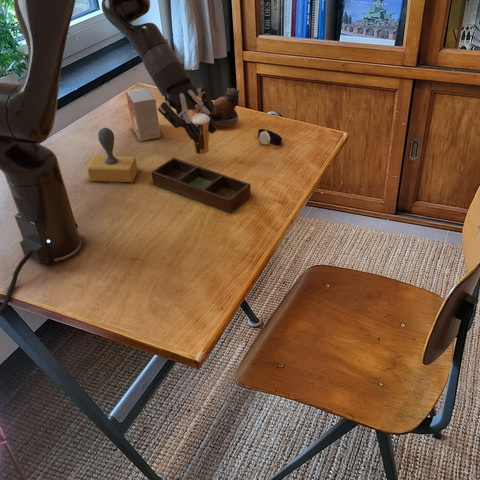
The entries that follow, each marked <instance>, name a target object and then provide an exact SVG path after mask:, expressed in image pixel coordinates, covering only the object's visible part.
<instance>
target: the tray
mask: <svg viewBox="0 0 480 480" xmlns="http://www.w3.org/2000/svg"><path fill="white" fill-rule="evenodd" d="M150 172H151V178H152V184H153V185H156V186H157V187H160V188H163V189H165V190H168V191H171V192H174V193H177V194H179V195H182V196H184V197H187V198H190V199H192V200H195V201H197V202H200V203H203V204H205V205H208V206H211V207H214V208H216V209H219V210H222V211H224V212H227V213H230V214H231V213H233V212H234V211H235V210H236V209H237V208H239V207H240V206H241V205H242V204H243V203H245V202H246V201H247V200H249V198H251V197H252V190H251V189H252V188H251V183H249V182H245V181H243V180H240V179H237V178H234V177H231V176H228V175H225V174H222V173H219V172H217V171H214V170H212V169H211V170H210V169H208V168H205V167H202V166H199V165H196V164H194V163H190V162H188V161H185V160H183V159H179V158H176V157H172V158H170V159H169V160H167V161H165V162H164V163H162V164H161V165H160V166H158V167H156V168H154V169H153V170H151V171H150Z"/></svg>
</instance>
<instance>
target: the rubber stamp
mask: <svg viewBox="0 0 480 480" xmlns="http://www.w3.org/2000/svg"><path fill="white" fill-rule="evenodd" d="M97 139H98V142H99V143H100V145H101V147H102V148H103V150H104V151H105V153H106V155H93V157H92V158H91V159H90V162H89V163H88V164H87V166H86V170H87V175H88V178H89V182H107V183H109V182H110V183H111V182H112V183H133V182H134V180H135V178H136V175H137V174H138V172H139V170H138V163H137V158H136V156H126V155H125V156H122V155H121V156H120V155H114V152H113V151H114V145H115V133H114V131H113V130H111V128H108V127H102V128H100V130H99V131H98V133H97Z"/></svg>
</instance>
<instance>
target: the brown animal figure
mask: <svg viewBox="0 0 480 480" xmlns="http://www.w3.org/2000/svg"><path fill="white" fill-rule="evenodd" d="M239 94H240V89H239V88H235V87H230V88H229V87H227V89H226V92H225V94H224V96H219V97H218V98H216V99H215V100H214V101H212V102H213V105H214V110H213V111H212V112H211V113H210V115H211V117H212V119H213V121H214V122H215V124H216V126H217V127H229V126H234V125H237V124H238V120H239V115H238V112H237V111H236V109H235V108H236V107H237V105H238V104H239V98H240V95H239Z"/></svg>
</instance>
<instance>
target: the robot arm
mask: <svg viewBox="0 0 480 480" xmlns="http://www.w3.org/2000/svg"><path fill="white" fill-rule="evenodd" d="M75 5H76V0H13V8H14V9H13V10H14V13H15V17H16V19H17V23H18V26H19V28H20V30H21V33H22V35H23V38H24V41H25V43H26V47H27V52H28V62H27V63H28V64H27V69H26V76H25V79H24V82H23V84H20V83H8V82H0V171H1V172H2V173H3V174H4V177H5V179H6V180H5V181H6V182H7V185H8V188H9V190H10V193H11V197H12V200H13V202H14V204H15V205H14V206H15V208H16V210H17V213H16V214H15V215H14V218H15V221H16V224H17V226H18V230H19V232H20V234H21V237H22V238H21V239H22V240H20V241H19V245H20V247H21V250H22V252H23V255H24V256H23V257H22V259H21V260H20V262H19V263H18V264H17V266H16V268H15V270H14V271H13V275H12V278H11V280H10V283H9V287H8V289H7V292H6V294H5V297H4V300H3V302H2V304H1V306H0V317H1V316H2V315H3V313H4V312H5V310H6V308H7V307H8V305H9V302H10V300H11V297H12V294H13V292H14V289H15V287H16V284H17V280H18V277H19V274H20V272H21V270H22V268H23V267H24V265H25V264H26V263H27V262H28V260H29V259H31V260H33V261H36V262H37V263H40V264H42V263H44V264H46V265H47V266H52V265H53V264H55V263H61V262H63V261H64V262H65V261H66V260H70V259H71V258H72V257H74V256H75V255H78V253H79V252H80V250H81V249H82V246H83V242H82V238H81V236H80V233H79V226H78V224H77V222H76V219H75V216H74V212H73V209H72V205H71V201H70V199H69V195H68V192H67V188H66V185H65V181H64V178H63V173H62V170H61V167H60V164H59V161H58V160H59V159H58V157H57V155H56V154H55V153H54V151H53V150H51V149H50V148H48V147H47V146H44V145H42V144H41V143H44V142H45V141H47V139H48V138H49V137H50V136H51V133H52V131H53V128H54V124H55V121H56V115H57V109H58V108H57V107H58V99H59V90H60V83H61V82H60V81H61V75H62V67H63V60H64V54H65V49H66V45H67V40H68V39H67V38H68V34H69V28H70V27H71V26H70V25H71V23H72V18H73V15H74V14H73V13H74V11H75V10H74V9H75ZM150 8H151V0H101V11H102V13H103V15H104V17H105V18H106V19H107V21H108V22H109V23H110V24H111V25H113V27H114V28H116V29H117V30H118V31H119V32H120V34H122V35H123V36H124V37H125V38H126V39H127V41H129V43H130V44H131V45H132V47H133V48H134V50H135V52H136V53H137V55H138V57H139V59H140V60H141V62H142V63H143V66H144V68H145V70H146V71H147V74H148V75H149V76H150V78H151V80H152V81H153V83H154V84H155V85H154V86H156V88H157V90H158V91H159V93H160V94H161V96H162V97H164V101H163V102H162V103H161V104H160V105H159V107H158V108H157V112H159V113H160V114H161V115H162V116H163V117H164V118H165V119H166V120H167V122H169V124H171V126H172V127H173V128H175V129H178V128H183V129H184V131H185V133H186V134H187V136H188V137H189V139H190V140H192V142H193V141H197V140H198V139H199V138H200V135H199V134H198V132H197V130H196V129H195V127H194V125H193V124H192V123H190V116H189V111H192V112H193V113H194V114H196V113H201V110H202V111H203V114H206V115H207V116H209V118H210V124H209V134H215V132H216V131H217V128H218V126H216V124H215V122H214V121H213V119H212V117H211V115H210V113H211V112H212V111H213V110H214V105H213V102H214V101H213V100H212V96H211V94H210V91H209V88H208V86H206V85H204V86H202V87H199V88H197V87H196V86H195V85H194V84H193V83H192V81H191V77H190V76H189V74H188V72H187V71H186V69H185V67H184V66H183V63H181V61H180V59H179V57H178V56H177V54H176V53H175V52H174V50H173V49H172V47H171V46H170V45H169V43H168V42H167V40H166V38H165V36H164V35H163V33H162V31H161V29H160V28H159V27H158V26H157V24H155V23H154V22H144V23H142V24H136V25H134V24H131V23H133V22H135V21H136V20H138V19H140V18H141V17H143V16H145V15H146V14H147V13H149V11H150ZM202 106H203V108H202ZM174 110H175V111H174Z"/></svg>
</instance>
